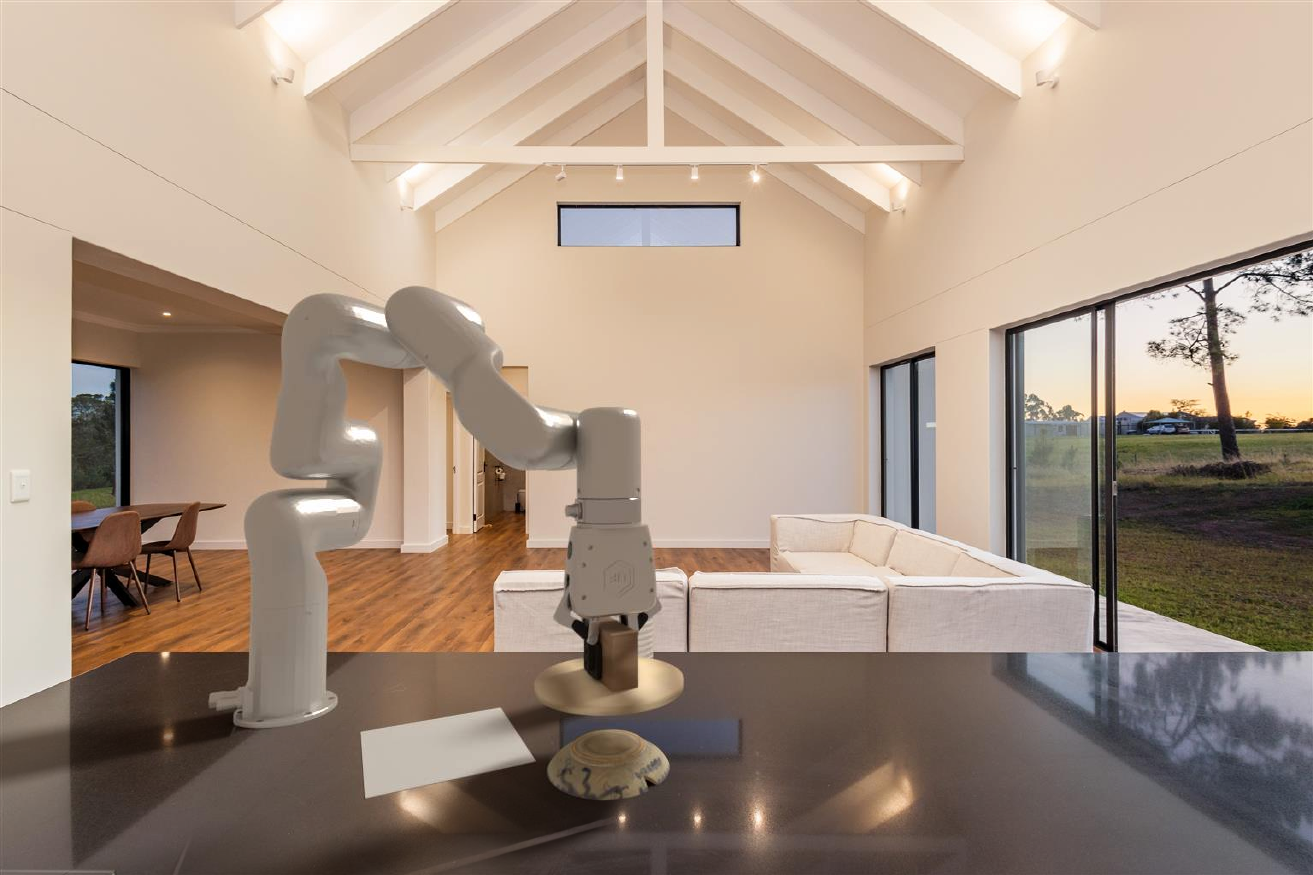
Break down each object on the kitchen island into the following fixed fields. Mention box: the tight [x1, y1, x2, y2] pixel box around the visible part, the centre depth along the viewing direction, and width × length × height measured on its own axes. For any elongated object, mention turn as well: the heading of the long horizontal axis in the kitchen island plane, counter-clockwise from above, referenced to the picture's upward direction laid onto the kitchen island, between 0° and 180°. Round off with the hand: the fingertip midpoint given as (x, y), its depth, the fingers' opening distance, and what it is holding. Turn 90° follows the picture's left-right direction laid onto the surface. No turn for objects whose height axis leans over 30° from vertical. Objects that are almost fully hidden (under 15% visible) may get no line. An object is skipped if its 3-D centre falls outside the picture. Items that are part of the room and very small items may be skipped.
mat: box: [359, 707, 537, 800], centre depth 76 cm, size 18×18×1 cm
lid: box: [533, 617, 685, 717], centre depth 71 cm, size 17×17×7 cm
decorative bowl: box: [546, 729, 671, 801], centre depth 71 cm, size 15×4×15 cm
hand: (609, 672), depth 71 cm, fingers closed on lid, 3 cm apart
